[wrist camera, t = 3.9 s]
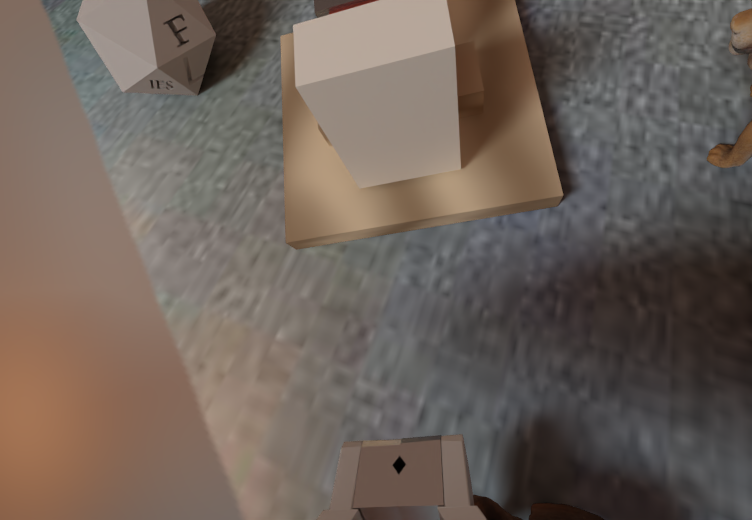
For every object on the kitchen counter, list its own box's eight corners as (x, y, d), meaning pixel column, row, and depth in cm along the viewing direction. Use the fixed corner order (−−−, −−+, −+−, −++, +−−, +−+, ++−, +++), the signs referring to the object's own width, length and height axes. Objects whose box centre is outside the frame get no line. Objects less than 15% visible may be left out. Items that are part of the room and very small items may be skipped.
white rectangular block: (453, 124, 23) (443, -19, 14) (461, 169, 22) (455, 46, 13) (355, 145, 24) (293, 25, 15) (359, 188, 23) (295, 87, 15)
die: (158, 139, 31) (141, 63, 23) (71, 56, 30) (18, -60, 21) (233, 89, 35) (244, 6, 26) (159, 12, 33) (144, -103, 25)
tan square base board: (505, -9, 26) (510, -61, 23) (557, 206, 22) (572, 178, 19) (289, 51, 30) (266, 12, 26) (296, 249, 25) (269, 232, 22)
